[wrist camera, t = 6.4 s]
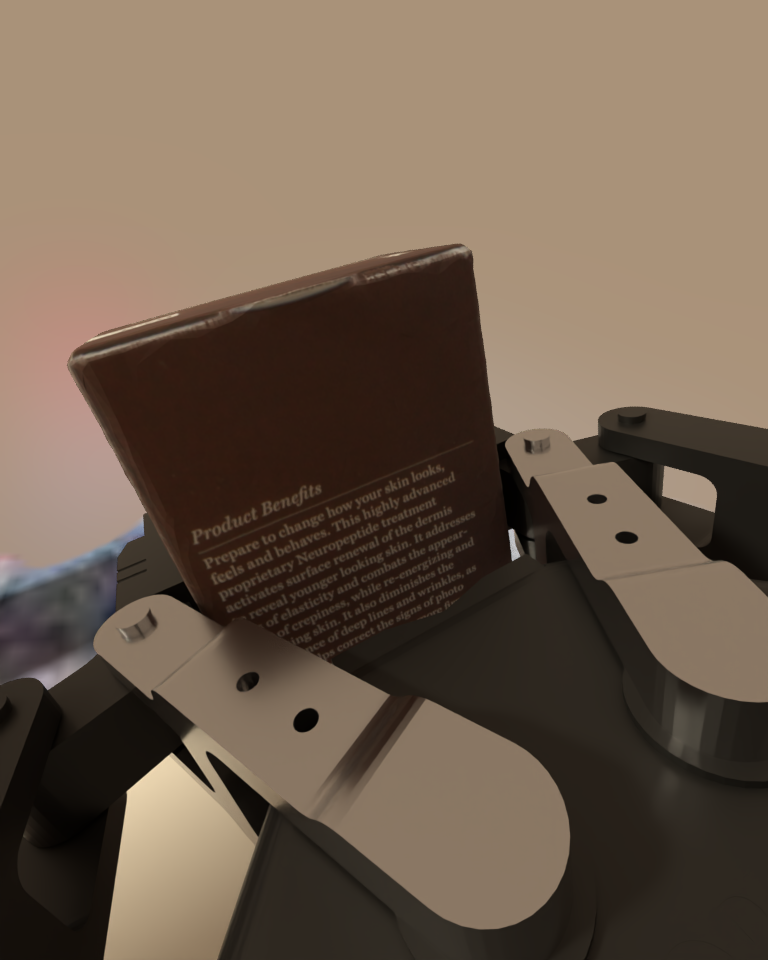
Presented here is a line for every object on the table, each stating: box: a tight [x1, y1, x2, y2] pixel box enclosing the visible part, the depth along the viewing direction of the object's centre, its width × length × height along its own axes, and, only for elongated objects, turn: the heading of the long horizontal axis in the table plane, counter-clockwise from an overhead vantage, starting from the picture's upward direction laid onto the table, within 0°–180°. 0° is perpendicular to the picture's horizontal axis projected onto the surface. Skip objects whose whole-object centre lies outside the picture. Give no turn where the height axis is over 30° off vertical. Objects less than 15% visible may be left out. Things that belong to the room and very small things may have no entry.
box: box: [67, 244, 512, 665], centre depth 11 cm, size 6×4×12 cm
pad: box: [104, 756, 255, 960], centre depth 11 cm, size 8×10×1 cm
